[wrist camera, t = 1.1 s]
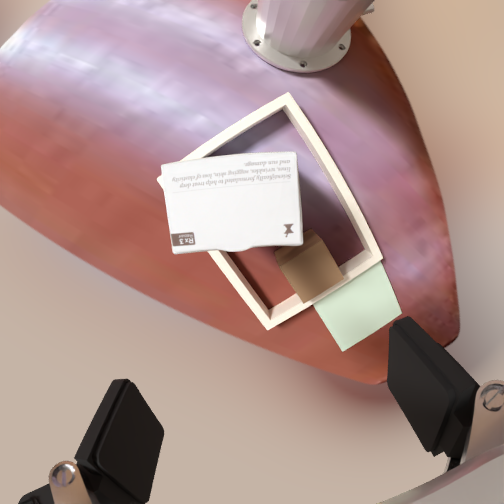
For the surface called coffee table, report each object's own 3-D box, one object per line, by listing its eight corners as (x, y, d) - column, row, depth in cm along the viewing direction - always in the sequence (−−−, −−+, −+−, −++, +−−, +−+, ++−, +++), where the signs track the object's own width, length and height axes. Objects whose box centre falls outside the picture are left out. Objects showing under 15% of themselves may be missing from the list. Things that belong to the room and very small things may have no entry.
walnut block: (310, 228, 32) (322, 239, 27) (330, 262, 33) (344, 278, 28) (273, 251, 32) (279, 267, 28) (295, 284, 34) (303, 304, 29)
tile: (375, 254, 33) (378, 256, 32) (399, 310, 35) (402, 313, 35) (309, 298, 34) (310, 300, 33) (340, 348, 37) (342, 351, 36)
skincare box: (276, 154, 29) (305, 144, 15) (279, 208, 31) (310, 247, 17) (198, 161, 29) (157, 158, 15) (203, 215, 31) (171, 259, 17)
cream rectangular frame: (285, 97, 27) (288, 92, 25) (374, 251, 33) (383, 258, 30) (162, 177, 29) (156, 179, 27) (266, 319, 35) (267, 330, 32)
